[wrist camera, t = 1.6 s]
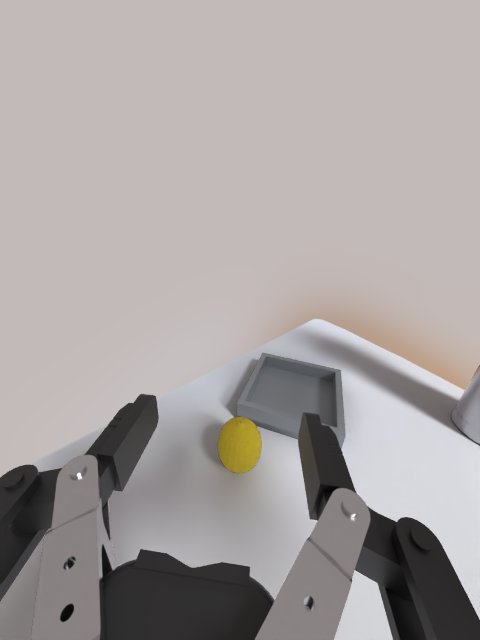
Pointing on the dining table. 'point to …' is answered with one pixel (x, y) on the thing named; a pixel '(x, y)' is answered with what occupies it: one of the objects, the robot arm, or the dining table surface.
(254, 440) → the lemon
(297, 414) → the tray
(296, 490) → the dining table surface
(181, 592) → the robot arm
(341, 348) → the dining table surface
